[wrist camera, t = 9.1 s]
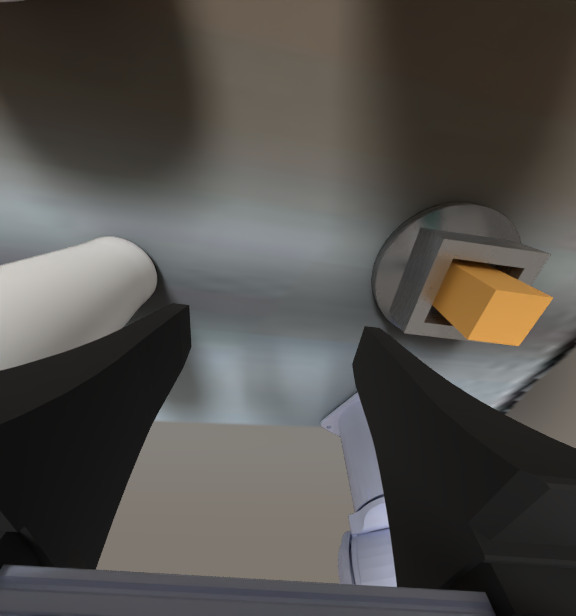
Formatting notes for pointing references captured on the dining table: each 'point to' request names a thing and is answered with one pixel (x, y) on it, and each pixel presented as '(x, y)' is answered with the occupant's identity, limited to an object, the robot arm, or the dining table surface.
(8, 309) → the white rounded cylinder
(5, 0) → the lidded bowl
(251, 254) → the dining table surface
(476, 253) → the grey square frame
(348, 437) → the robot arm
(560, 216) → the dining table surface
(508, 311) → the orange block
